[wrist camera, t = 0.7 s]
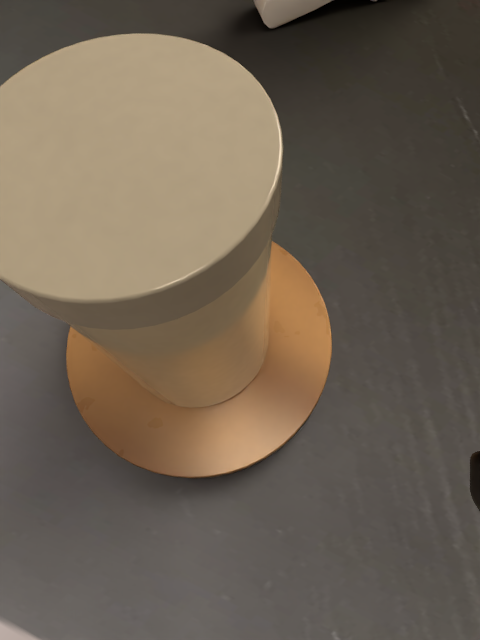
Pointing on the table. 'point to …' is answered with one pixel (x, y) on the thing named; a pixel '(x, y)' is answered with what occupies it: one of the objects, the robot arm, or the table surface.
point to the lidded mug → (145, 207)
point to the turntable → (223, 418)
